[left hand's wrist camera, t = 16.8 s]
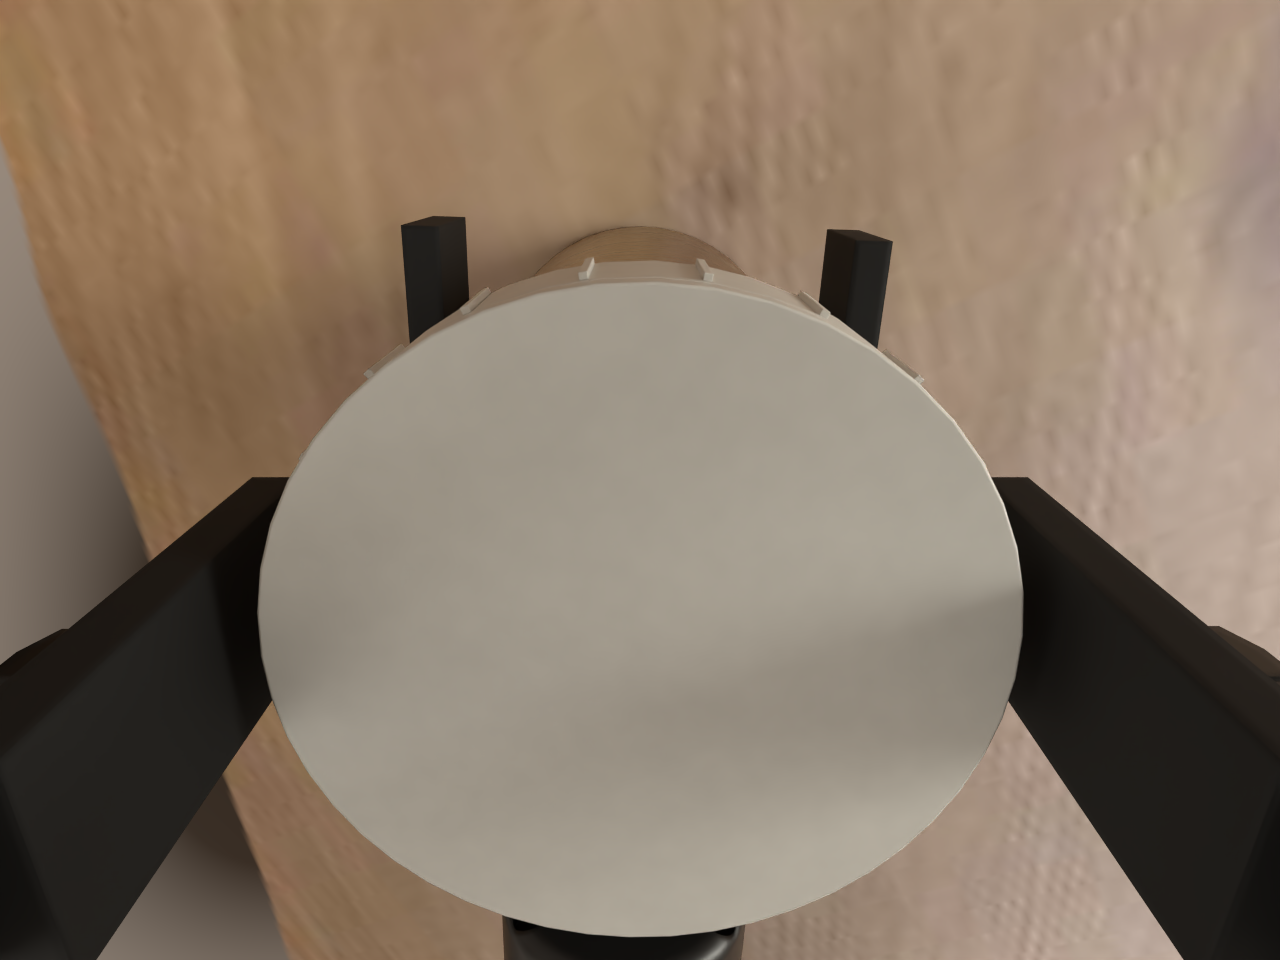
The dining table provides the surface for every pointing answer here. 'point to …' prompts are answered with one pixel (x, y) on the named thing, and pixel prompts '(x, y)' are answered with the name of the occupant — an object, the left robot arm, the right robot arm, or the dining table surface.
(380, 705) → the lid
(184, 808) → the left robot arm
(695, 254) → the jar
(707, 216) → the dining table surface
